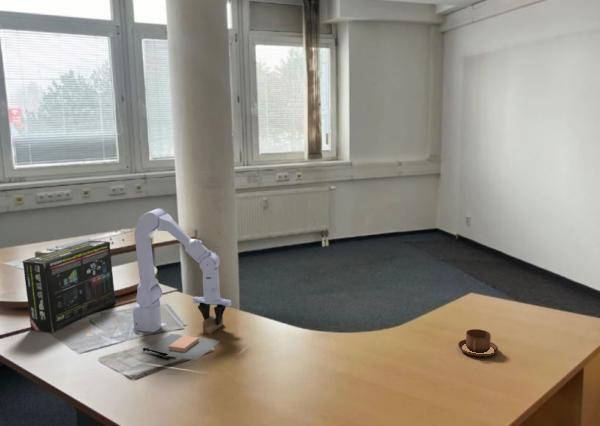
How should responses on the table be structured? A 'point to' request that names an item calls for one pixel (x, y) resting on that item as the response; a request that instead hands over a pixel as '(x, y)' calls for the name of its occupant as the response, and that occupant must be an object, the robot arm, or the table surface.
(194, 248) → the robot arm
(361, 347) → the table surface
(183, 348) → the tile
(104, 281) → the router box
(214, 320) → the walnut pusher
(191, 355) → the mat
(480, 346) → the cup and saucer
